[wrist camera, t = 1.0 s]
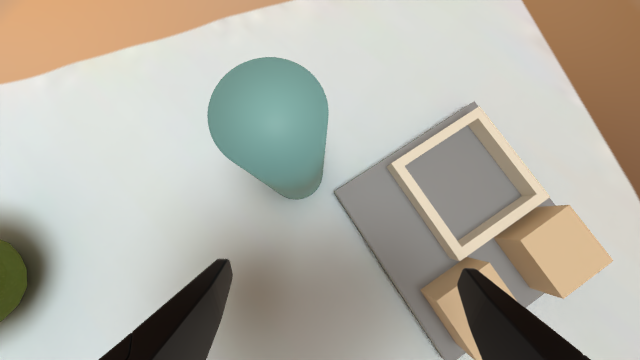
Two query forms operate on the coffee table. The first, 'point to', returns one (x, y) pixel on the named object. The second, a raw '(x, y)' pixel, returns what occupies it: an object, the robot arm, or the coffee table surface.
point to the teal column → (272, 124)
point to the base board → (467, 226)
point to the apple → (11, 279)
